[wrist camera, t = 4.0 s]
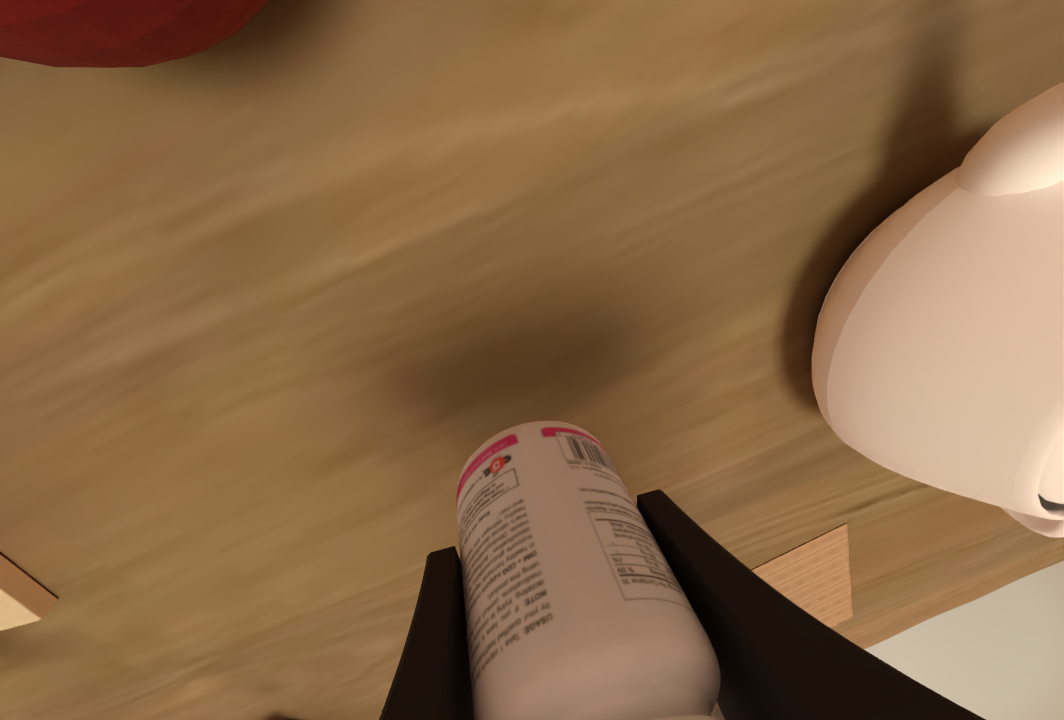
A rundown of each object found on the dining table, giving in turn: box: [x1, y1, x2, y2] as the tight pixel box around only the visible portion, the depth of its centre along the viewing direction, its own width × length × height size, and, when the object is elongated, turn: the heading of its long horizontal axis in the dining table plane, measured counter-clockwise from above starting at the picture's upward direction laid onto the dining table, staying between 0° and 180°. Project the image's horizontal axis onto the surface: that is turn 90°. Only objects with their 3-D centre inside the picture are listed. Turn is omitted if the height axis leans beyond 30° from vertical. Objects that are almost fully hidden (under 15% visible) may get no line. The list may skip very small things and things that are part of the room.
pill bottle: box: [457, 421, 721, 720], centre depth 9 cm, size 5×5×8 cm
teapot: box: [812, 82, 1064, 537], centre depth 16 cm, size 25×16×12 cm, turn 28°
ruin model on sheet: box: [711, 524, 853, 720], centre depth 32 cm, size 25×16×10 cm, turn 115°
